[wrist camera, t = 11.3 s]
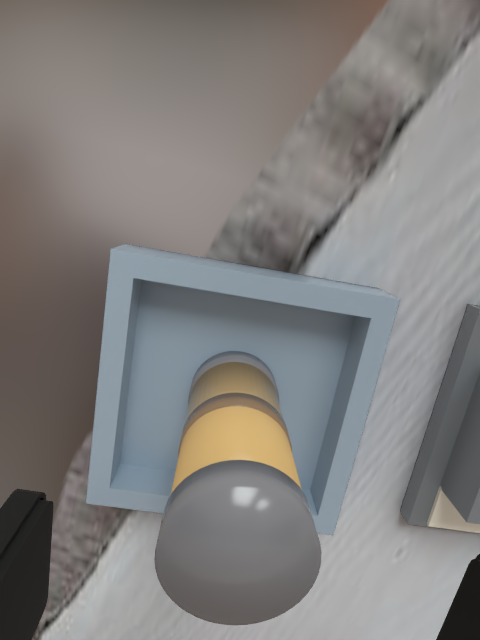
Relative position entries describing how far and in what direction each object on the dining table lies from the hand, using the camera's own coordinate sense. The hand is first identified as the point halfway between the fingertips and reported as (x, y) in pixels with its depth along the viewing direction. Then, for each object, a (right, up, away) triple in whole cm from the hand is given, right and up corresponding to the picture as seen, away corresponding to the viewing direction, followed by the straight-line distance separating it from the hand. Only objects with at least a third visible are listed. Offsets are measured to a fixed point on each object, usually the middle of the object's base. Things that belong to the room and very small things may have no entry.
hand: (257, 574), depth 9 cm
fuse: (-1, +2, +11) cm, 11 cm away
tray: (-1, +2, +11) cm, 12 cm away
